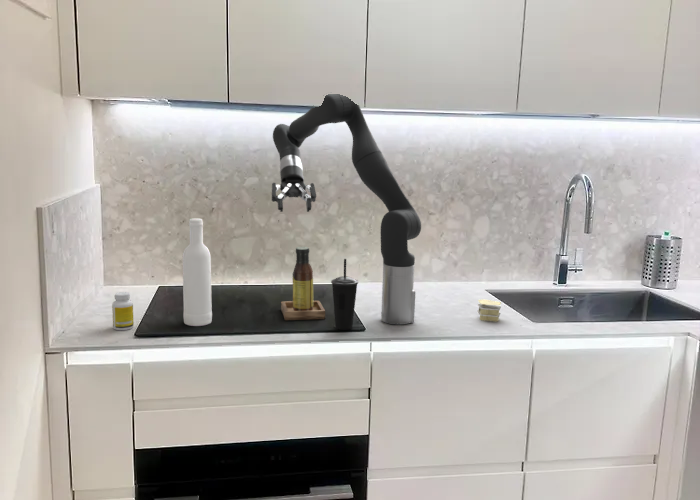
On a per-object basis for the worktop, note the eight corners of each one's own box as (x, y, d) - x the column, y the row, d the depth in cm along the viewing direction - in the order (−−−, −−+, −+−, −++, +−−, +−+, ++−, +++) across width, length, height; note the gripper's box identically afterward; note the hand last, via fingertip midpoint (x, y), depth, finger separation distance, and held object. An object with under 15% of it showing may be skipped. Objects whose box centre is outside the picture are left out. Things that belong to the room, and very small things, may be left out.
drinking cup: (362, 329, 178) (363, 260, 174) (338, 333, 174) (340, 262, 170) (348, 322, 184) (349, 255, 181) (325, 325, 180) (326, 257, 177)
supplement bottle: (137, 328, 174) (136, 293, 172) (119, 332, 170) (117, 297, 168) (127, 323, 177) (126, 290, 176) (109, 327, 173) (107, 293, 172)
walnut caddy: (319, 308, 198) (319, 300, 198) (325, 318, 187) (325, 310, 186) (281, 309, 196) (281, 301, 196) (284, 320, 185) (285, 312, 184)
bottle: (196, 328, 175) (194, 221, 170) (177, 322, 180) (175, 219, 174) (217, 321, 182) (216, 219, 176) (199, 316, 186) (197, 216, 181)
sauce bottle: (302, 307, 196) (303, 244, 192) (317, 311, 192) (318, 247, 188) (287, 311, 191) (288, 247, 187) (302, 315, 187) (303, 250, 184)
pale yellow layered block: (505, 317, 194) (507, 300, 193) (503, 325, 186) (504, 307, 185) (473, 314, 197) (474, 297, 196) (469, 321, 189) (470, 304, 188)
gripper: (270, 164, 204) (273, 202, 195) (313, 164, 206) (318, 202, 197) (269, 179, 210) (272, 217, 201) (311, 179, 213) (316, 217, 203)
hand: (295, 210), depth 199 cm, fingers open, 8 cm apart
